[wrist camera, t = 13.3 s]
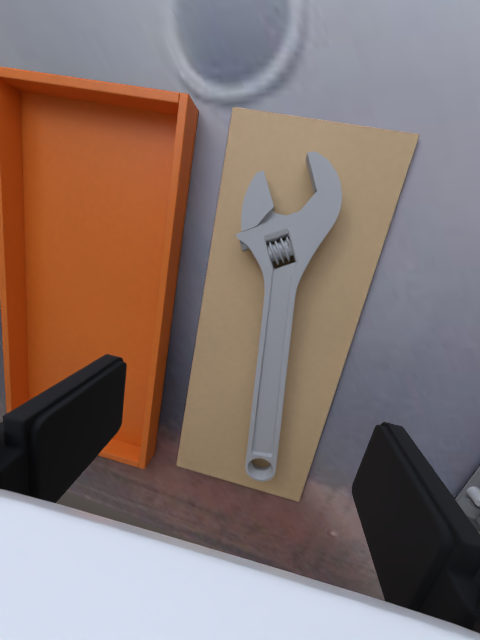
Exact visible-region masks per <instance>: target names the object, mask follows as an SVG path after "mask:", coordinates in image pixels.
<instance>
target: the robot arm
mask: <svg viewBox="0 0 480 640" xmlns="http://www.w3.org/2000/svg"><path fill="white" fill-rule="evenodd" d="M126 370H127V364H126V363H125V362H124V361H123V358H122V357H118V356H113V355H109V354H106V355H104V356H102V357H100V358H99V359H97V360H95V361H94V362H92V363H90V364H89V365H87V366H85V367H84V368H82V369H80V370H79V371H77V372H75V373H74V374H72V375H70V376H69V377H67V378H65V379H64V380H62V381H60V382H59V383H57V384H55V385H54V386H52V387H50V388H49V389H47V390H45V391H44V392H42V393H40V394H39V395H37V396H35V397H34V398H32V399H30V400H29V401H27V402H25V403H24V404H22V405H20V406H19V407H17V408H15V409H14V410H12V411H10V412H9V413H7V414H5V415H4V416H3V422H2V423H0V640H480V534H479V532H478V531H477V529H476V528H475V527H474V525H473V524H472V522H471V521H470V520H469V518H468V517H467V515H466V514H465V513H464V511H463V510H462V508H461V507H460V506H459V504H458V503H457V502H456V500H455V499H454V497H453V496H452V495H451V493H450V492H449V490H448V489H447V488H446V486H445V485H444V483H443V482H442V481H441V479H440V478H439V476H438V475H437V474H436V472H435V471H434V470H433V468H432V467H431V465H430V464H429V463H428V461H427V460H426V458H425V457H424V456H423V454H422V453H421V451H420V450H419V449H418V447H417V446H416V444H415V443H414V442H413V440H412V439H411V438H410V436H409V435H408V433H407V432H406V431H405V429H404V428H403V427H402V426H398V425H394V424H390V423H386V422H383V423H382V424H381V425H377V426H376V427H375V429H374V431H373V434H372V436H371V439H370V441H369V444H368V446H367V449H366V452H365V454H364V457H363V459H362V462H361V464H360V467H359V469H358V472H357V474H356V477H355V479H354V482H353V485H352V495H353V498H354V502H355V505H356V508H357V511H358V514H359V518H360V521H361V524H362V527H363V531H364V534H365V537H366V540H367V543H368V547H369V550H370V553H371V556H372V560H373V563H374V566H375V569H376V572H377V576H378V579H379V582H380V585H381V588H382V592H383V595H384V598H385V601H382V600H379V599H376V598H373V597H369V596H366V595H363V594H360V593H356V592H353V591H350V590H346V589H343V588H340V587H337V586H333V585H330V584H327V583H323V582H320V581H317V580H314V579H310V578H307V577H304V576H300V575H297V574H294V573H291V572H287V571H284V570H281V569H277V568H274V567H271V566H267V565H264V564H261V563H257V562H254V561H251V560H247V559H244V558H241V557H237V556H234V555H231V554H227V553H224V552H221V551H217V550H214V549H210V548H207V547H204V546H200V545H197V544H194V543H190V542H186V541H183V540H180V539H177V538H173V537H170V536H167V535H163V534H159V533H156V532H153V531H150V530H146V529H142V528H139V527H136V526H132V525H129V524H125V523H122V522H119V521H115V520H112V519H108V518H105V517H101V516H98V515H94V514H91V513H87V512H84V511H81V510H77V509H74V508H70V507H67V506H63V505H59V504H56V502H57V501H58V500H59V499H60V497H61V496H62V495H63V494H64V493H65V492H66V491H67V489H68V488H69V487H70V486H71V485H72V484H73V483H74V481H75V480H76V479H77V478H78V477H79V476H80V475H81V474H82V472H83V471H84V470H85V469H86V468H87V467H88V466H89V464H90V463H91V462H92V461H93V460H94V459H95V458H96V456H97V455H98V454H99V453H100V452H101V451H102V450H103V448H104V447H105V446H106V445H107V444H108V443H109V442H110V441H111V439H112V438H113V437H114V436H115V435H116V434H117V432H118V431H119V429H120V427H121V425H122V418H123V406H124V394H125V382H126Z"/></svg>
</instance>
